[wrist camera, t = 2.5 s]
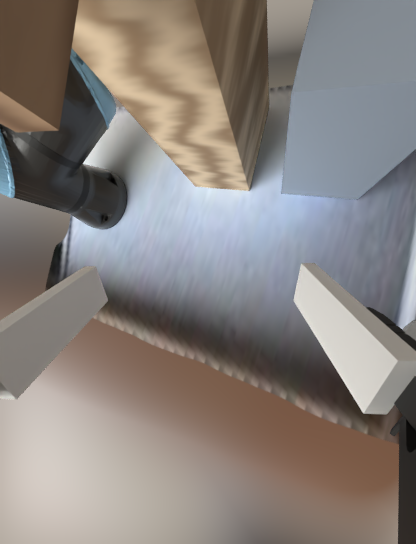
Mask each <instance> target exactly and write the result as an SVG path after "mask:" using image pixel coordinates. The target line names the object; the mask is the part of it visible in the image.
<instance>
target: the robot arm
mask: <svg viewBox="0 0 416 544" xmlns="http://www.w3.org/2000/svg"><path fill="white" fill-rule="evenodd" d="M115 113H116V103H115V101H114V98H113V97H112V95H111V93H110V92H109V90H108V89H107V87H106V86H105V85H104V84H103V82H102V81H101V80H100V79H99V78H98V77H97V76H96V75H95V74H94V72H93V71H92V70H91V69H90V68H89V67H88V66H87V65H86V63H85V62H84V61H83V60H82V59H81V58H80V57H79V56H78V55H77V53H76V52H75V51H74V50H73V49H71V56H70V62H69V69H68V75H67V82H66V88H65V95H64V101H63V108H62V114H61V121H60V127H59V130H57V131H37V132H15V131H13V130H11V129H9V128H8V127H6V126H4V125H2V124H0V193H1V194H3V195H6V196H8V197H11V198H17V199H20V200H24V201H27V202H31V203H35V204H38V205H41V206H45V207H48V208H52V209H56V210H59V211H63V212H66V213H69V214H71V215H72V216H74V217H76V218H77V219H79V220H80V221H82V222H84V223H85V224H87V225H88V226H91V227H94V228H97V229H108V228H111V227H112V226H114V225H115V224H116V223H117V222H118V221H119V220H120V218H121V217H122V215H123V213H124V210H125V207H126V201H127V194H126V188H125V185H124V183H123V181H122V180H121V179H120V178H119V177H118V176H117V175H115V174H114V173H112V172H110V171H108V170H106V169H101V168H97V167H93V166H89V165H84V164H82V163H83V162H84V161H85V159H86V158H87V156H88V155H89V154H90V152H91V151H92V149H93V148H94V147H95V145H96V144H97V142H98V141H99V139H100V138H101V137H102V135H103V134H104V132H105V131H106V130H107V129H108V128H109V124H110V122H111V120H112V119H113V117H114V115H115ZM107 301H108V299H107V296H106V293H105V291H104V288H103V285H102V282H101V279H100V277H99V274H98V271H97V268H96V266H89V267H83V268H82V269H80V270H79V271H77V272H75V273H74V274H72V275H71V276H69V277H68V278H66V279H65V280H63V281H61V282H60V283H58V284H57V285H55V286H54V287H52V288H50V289H49V290H47V291H46V292H44V293H43V294H41V295H40V296H38V297H36V298H35V299H33V300H32V301H30V302H29V303H27V304H25V305H24V306H23V307H21V308H19V309H18V310H16V311H15V312H13V313H12V314H10V315H8V316H7V317H5V318H4V319H2V320H1V321H0V399H17V398H18V397H19V396H20V395H21V394H22V393H23V392H24V391H25V390H26V389H27V388H28V387H29V385H30V384H31V383H32V382H33V381H34V380H35V379H36V378H37V377H38V376H39V375H40V374H41V372H42V371H43V370H44V369H45V368H46V367H47V366H48V365H49V364H50V363H51V362H52V361H53V360H54V358H55V357H56V356H57V355H58V354H59V353H60V352H61V351H62V350H63V349H64V348H65V346H67V344H68V343H69V342H70V341H71V340H72V339H73V338H74V337H75V336H76V335H77V334H78V333H79V331H80V330H81V329H82V328H83V327H84V326H85V325H86V324H87V323H88V322H89V321H90V320H91V318H92V317H93V316H94V315H95V314H96V313H97V312H98V311H99V310H100V309H101V308H102V307H103V306H104V304H105V303H106V302H107ZM294 302H295V304H296V305H297V307H298V308H299V310H300V312H301V313H302V315H303V317H304V318H305V320H306V321H307V323H308V325H309V326H310V328H311V329H312V331H313V333H314V334H315V336H316V338H317V339H318V341H319V342H320V344H321V346H322V347H323V349H324V350H325V352H326V354H327V355H328V357H329V359H330V360H331V362H332V363H333V365H334V367H335V368H336V370H337V371H338V373H339V375H340V376H341V378H342V380H343V381H344V383H345V384H346V386H347V388H348V389H349V391H350V392H351V394H352V396H353V397H354V399H355V401H356V402H357V404H358V405H359V407H360V409H361V410H362V412H363V413H365V414H388V412H389V411H390V410H391V408H392V407H393V406H394V404H395V405H396V407H397V408H398V409H399V410H400V412H401V413H402V414H403V416H402V417H401V418H400V420H399V421H398V422H397V423H396V424H395V426H394V427H393V428H392V430H391V432H390V434H391V435H393V436H395V435H396V434H397V433H398V432H399V513H398V514H399V515H398V544H416V340H414V339H413V338H412V337H411V336H409V335H408V334H405V332H404V331H403V330H402V329H401V328H400V327H398V326H396V324H395V323H393V322H392V321H391V320H390V319H389V318H387V317H386V316H385V315H383V314H381V313H380V312H378V311H376V310H374V309H372V308H370V307H364V306H363V305H362V304H361V303H360V302H359V301H357V300H356V299H355V298H354V297H353V296H352V295H351V294H349V293H348V292H347V291H346V290H345V289H344V288H342V287H341V286H340V285H339V284H338V283H337V282H336V281H334V280H333V279H332V278H331V277H330V276H329V275H328V274H326V273H325V272H324V271H323V270H322V269H321V268H319V267H318V266H317V265H316V264H315V263H301V268H300V272H299V277H298V282H297V286H296V291H295V296H294Z"/></svg>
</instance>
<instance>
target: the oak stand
mask: <svg viewBox="0 0 416 544" xmlns="http://www.w3.org/2000/svg"><path fill="white" fill-rule="evenodd" d="M72 49H73V50H74V51H75V52H76V53H77V55H78V56H79V57H80V58H81V59H82V60H83V61H84V62H85V63H86V65H87V66H88V67H89V68H90V69H91V70H92V71H93V72H94V74H95V75H96V76H97V77H98V78H99V79H100V80H101V81H102V82H103V84H104V85H105V86H106V87H107V88H108V89H109V90H110V91H111V92H112V94H113V95H114V96H115V97H116V98H117V99H118V100H119V101H120V103H121V104H122V105H123V106H124V107H125V108H126V109H127V110H128V112H129V113H130V114H131V115H132V116H133V117H134V118H135V119H136V121H137V122H138V123H139V124H140V125H141V126H142V127H143V128H144V129H145V131H146V132H147V133H148V134H149V135H150V136H151V137H152V138H153V140H154V141H155V142H156V143H157V144H158V145H159V146H160V147H161V148H162V150H163V151H164V152H165V153H166V154H167V155H168V156H169V157H170V159H171V160H172V161H173V162H174V163H175V164H176V165H177V166H178V167H179V169H180V170H181V171H182V172H183V173H184V174H185V175H186V176H187V178H188V179H189V180H190V181H191V182H192V183H193V184H194V185H195V186H196V187H208V188H220V189H232V190H244V191H249V190H250V186H251V182H252V177H253V173H254V169H255V165H256V160H257V156H258V152H259V148H260V143H261V139H262V135H263V131H264V126H265V122H266V118H267V114H268V109H269V87H268V86H269V83H268V38H267V0H79V3H78V10H77V16H76V23H75V30H74V36H73V43H72Z"/></svg>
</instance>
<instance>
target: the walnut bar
mask: <svg viewBox="0 0 416 544" xmlns="http://www.w3.org/2000/svg"><path fill="white" fill-rule="evenodd" d="M78 3H79V0H0V124H2V125H4V126H6V127H8V128H9V129H11V130H13V131H15V132H37V131H57V130H59V127H60V121H61V114H62V108H63V101H64V95H65V88H66V82H67V75H68V69H69V62H70V56H71V49H72V43H73V36H74V30H75V23H76V16H77V10H78Z"/></svg>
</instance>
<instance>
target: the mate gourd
mask: <svg viewBox="0 0 416 544" xmlns="http://www.w3.org/2000/svg"><path fill="white" fill-rule="evenodd" d="M403 331H404V332H405V334H408V335H409V336H411V337H412V338H413V339H414V340H416V320H414V321H412V322H411V323H409V324H408V325H407V326H405V327H404V329H403Z"/></svg>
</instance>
